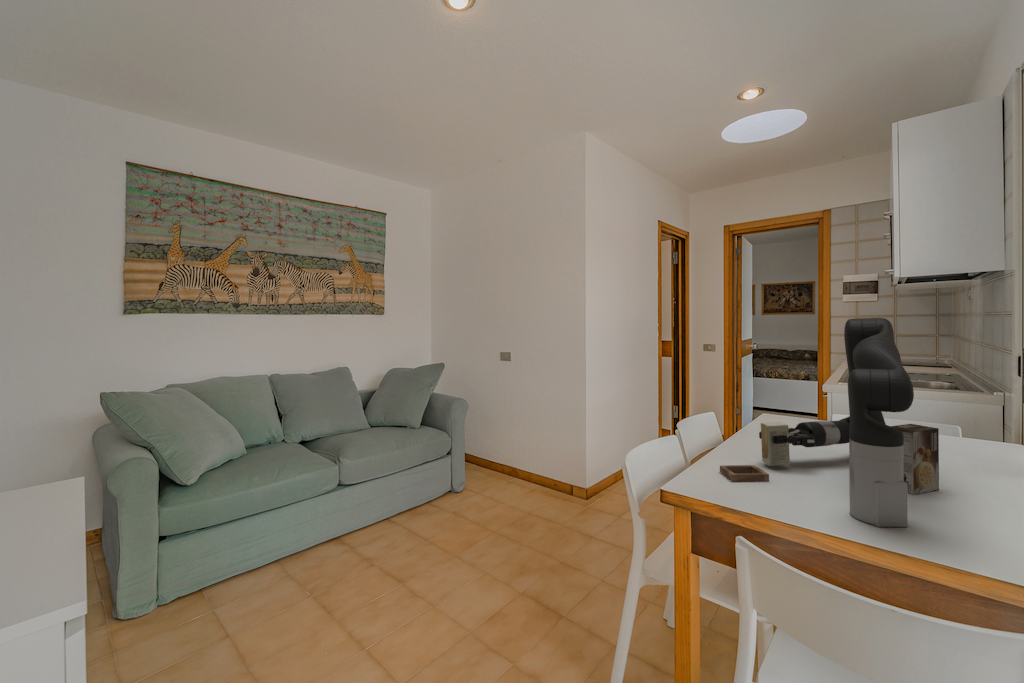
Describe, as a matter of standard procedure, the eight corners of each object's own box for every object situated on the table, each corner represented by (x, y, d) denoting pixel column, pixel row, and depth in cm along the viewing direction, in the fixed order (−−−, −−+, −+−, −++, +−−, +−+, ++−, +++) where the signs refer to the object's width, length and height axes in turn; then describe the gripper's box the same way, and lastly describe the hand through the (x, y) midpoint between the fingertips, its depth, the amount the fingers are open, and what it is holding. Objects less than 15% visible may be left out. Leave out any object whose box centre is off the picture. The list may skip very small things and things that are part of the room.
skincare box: (782, 460, 133) (781, 421, 133) (790, 465, 129) (789, 424, 129) (760, 461, 134) (759, 422, 133) (768, 465, 129) (767, 425, 129)
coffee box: (910, 482, 116) (911, 423, 116) (939, 490, 110) (940, 428, 110) (885, 486, 114) (885, 426, 113) (914, 495, 108) (914, 431, 107)
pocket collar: (769, 481, 120) (769, 474, 120) (732, 481, 120) (732, 474, 120) (754, 471, 128) (754, 465, 128) (719, 472, 128) (719, 465, 128)
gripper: (798, 417, 140) (750, 420, 138) (837, 427, 126) (783, 431, 124) (799, 440, 140) (750, 443, 138) (837, 452, 126) (784, 457, 124)
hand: (766, 437), depth 131 cm, fingers closed on skincare box, 5 cm apart
